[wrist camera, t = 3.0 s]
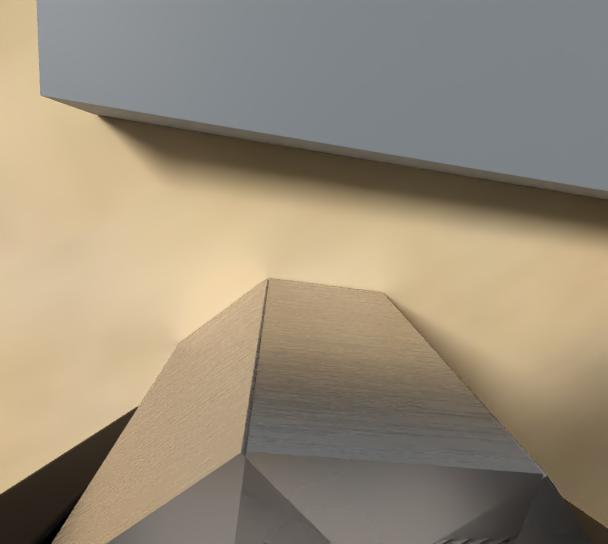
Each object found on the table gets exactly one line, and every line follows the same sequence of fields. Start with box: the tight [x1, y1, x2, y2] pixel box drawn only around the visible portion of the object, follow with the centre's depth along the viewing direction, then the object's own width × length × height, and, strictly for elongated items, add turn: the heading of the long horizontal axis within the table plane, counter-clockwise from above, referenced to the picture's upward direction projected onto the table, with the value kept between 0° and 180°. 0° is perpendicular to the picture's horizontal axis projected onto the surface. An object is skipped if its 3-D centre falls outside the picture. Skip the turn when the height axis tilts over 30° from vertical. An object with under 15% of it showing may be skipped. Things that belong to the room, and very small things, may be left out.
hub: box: [52, 278, 593, 544], centre depth 6 cm, size 6×6×5 cm
